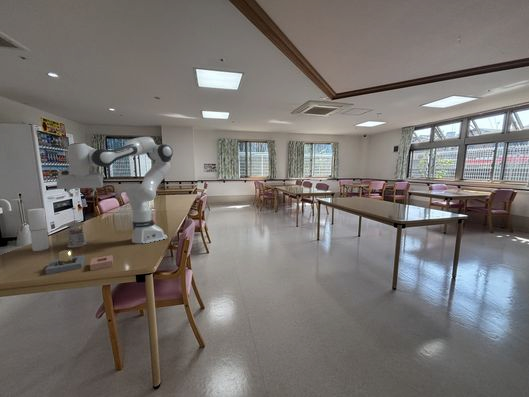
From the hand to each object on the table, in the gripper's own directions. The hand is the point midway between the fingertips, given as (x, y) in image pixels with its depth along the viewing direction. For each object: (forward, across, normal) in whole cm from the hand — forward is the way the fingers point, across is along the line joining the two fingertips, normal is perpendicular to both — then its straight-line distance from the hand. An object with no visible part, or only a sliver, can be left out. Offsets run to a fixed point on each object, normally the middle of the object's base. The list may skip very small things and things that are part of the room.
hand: (82, 196), depth 125 cm
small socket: (+34, -8, +25) cm, 43 cm away
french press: (+34, +8, -22) cm, 42 cm away
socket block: (+34, +7, +17) cm, 39 cm away
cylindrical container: (+34, +25, -25) cm, 49 cm away
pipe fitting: (+34, +7, +17) cm, 39 cm away
